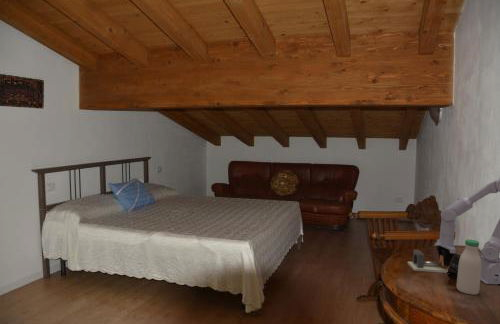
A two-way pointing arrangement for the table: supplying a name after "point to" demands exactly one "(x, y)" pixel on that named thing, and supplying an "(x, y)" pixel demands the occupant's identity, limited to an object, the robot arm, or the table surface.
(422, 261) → the eye post
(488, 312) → the table surface
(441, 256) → the hook rod
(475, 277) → the milk bottle
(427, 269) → the board
